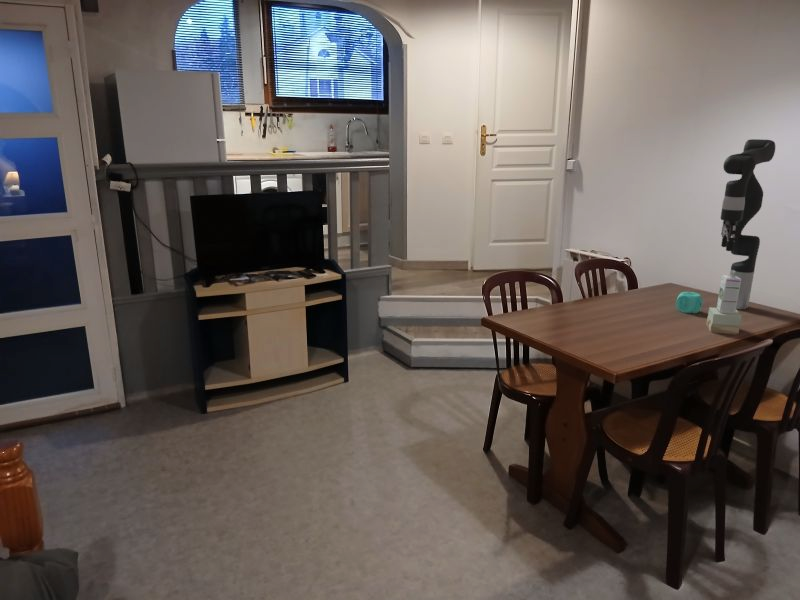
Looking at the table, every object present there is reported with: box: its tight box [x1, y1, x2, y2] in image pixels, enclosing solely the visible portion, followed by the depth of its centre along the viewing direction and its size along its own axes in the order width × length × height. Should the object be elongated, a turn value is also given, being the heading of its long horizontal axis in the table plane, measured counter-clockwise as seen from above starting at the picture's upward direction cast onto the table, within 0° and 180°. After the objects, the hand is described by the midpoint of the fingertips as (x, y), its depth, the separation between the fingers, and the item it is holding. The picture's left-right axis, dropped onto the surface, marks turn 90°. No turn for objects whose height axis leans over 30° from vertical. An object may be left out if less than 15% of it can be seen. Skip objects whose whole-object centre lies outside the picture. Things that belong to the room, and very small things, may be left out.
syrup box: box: [715, 274, 741, 314], centre depth 234 cm, size 6×6×14 cm
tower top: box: [707, 306, 743, 327], centre depth 237 cm, size 10×10×4 cm
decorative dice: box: [675, 291, 704, 314], centre depth 262 cm, size 8×8×8 cm
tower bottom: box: [706, 316, 741, 336], centre depth 238 cm, size 10×10×4 cm
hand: (726, 248), depth 232 cm, fingers open, 8 cm apart
